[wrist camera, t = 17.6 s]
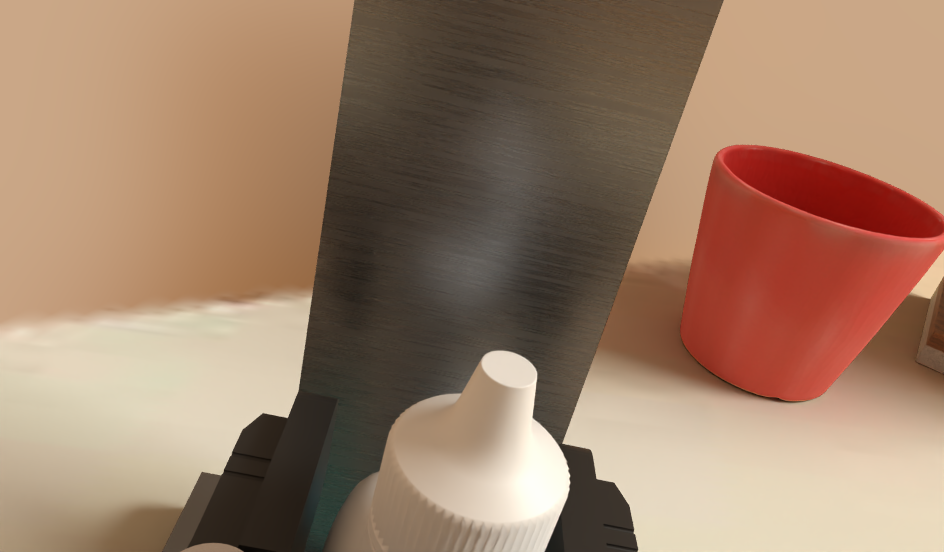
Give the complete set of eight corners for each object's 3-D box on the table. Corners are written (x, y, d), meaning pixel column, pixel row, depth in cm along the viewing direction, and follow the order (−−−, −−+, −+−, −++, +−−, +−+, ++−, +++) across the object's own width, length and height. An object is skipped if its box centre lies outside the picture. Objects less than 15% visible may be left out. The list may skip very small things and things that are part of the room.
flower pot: (614, 296, 42) (675, 130, 38) (774, 304, 46) (847, 154, 41) (714, 425, 33) (809, 229, 29) (902, 423, 37) (1011, 249, 33)
